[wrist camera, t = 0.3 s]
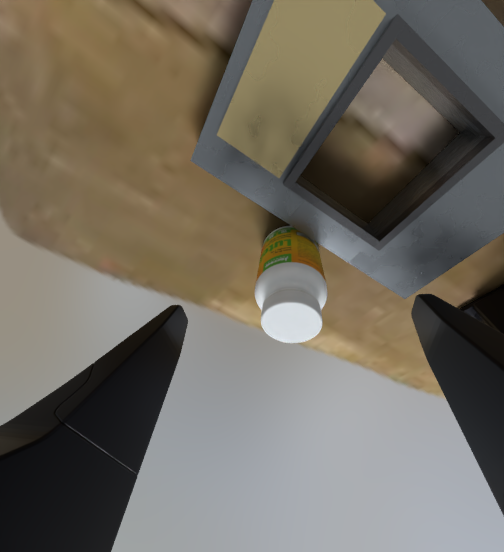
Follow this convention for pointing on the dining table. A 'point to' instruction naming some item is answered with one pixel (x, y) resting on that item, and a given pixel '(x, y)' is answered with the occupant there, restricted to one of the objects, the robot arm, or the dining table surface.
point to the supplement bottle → (290, 286)
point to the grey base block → (332, 104)
